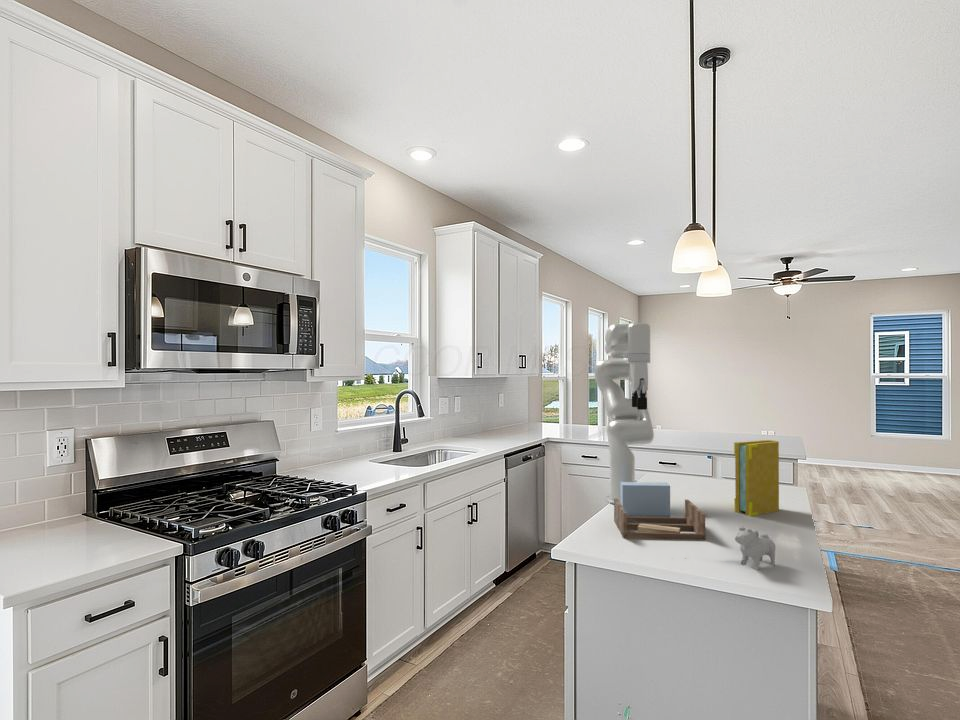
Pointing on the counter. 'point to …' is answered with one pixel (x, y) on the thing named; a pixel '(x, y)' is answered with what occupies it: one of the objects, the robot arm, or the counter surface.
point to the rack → (692, 519)
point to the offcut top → (657, 528)
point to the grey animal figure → (755, 546)
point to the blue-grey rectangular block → (645, 499)
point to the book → (756, 476)
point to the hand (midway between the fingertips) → (639, 408)
